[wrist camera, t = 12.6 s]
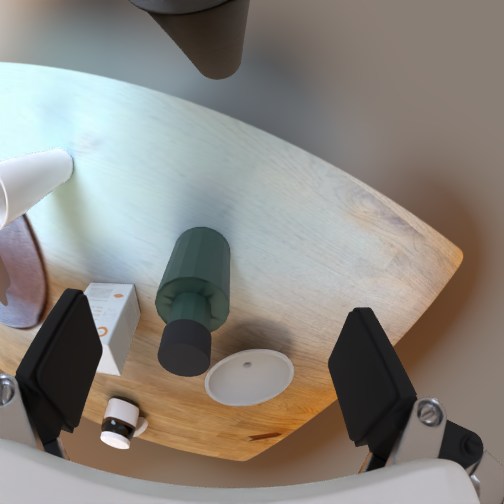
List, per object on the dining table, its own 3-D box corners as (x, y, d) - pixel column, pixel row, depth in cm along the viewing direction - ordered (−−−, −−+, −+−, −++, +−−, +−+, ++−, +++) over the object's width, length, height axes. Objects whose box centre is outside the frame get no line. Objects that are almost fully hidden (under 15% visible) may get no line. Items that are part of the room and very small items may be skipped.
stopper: (162, 300, 27) (146, 351, 21) (199, 284, 26) (191, 337, 20) (185, 329, 29) (177, 381, 23) (221, 316, 28) (219, 369, 22)
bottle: (165, 241, 37) (130, 319, 23) (213, 217, 36) (201, 290, 22) (192, 282, 40) (176, 369, 26) (239, 263, 39) (242, 348, 25)
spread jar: (114, 389, 53) (103, 430, 43) (158, 408, 57) (152, 449, 46) (103, 406, 57) (93, 442, 47) (142, 423, 61) (136, 459, 50)
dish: (253, 393, 54) (255, 412, 50) (191, 372, 50) (189, 393, 46) (307, 344, 48) (313, 365, 44) (238, 315, 44) (239, 337, 39)
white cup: (77, 191, 33) (11, 237, 19) (42, 185, 32) (-26, 226, 18) (81, 143, 30) (7, 169, 16) (44, 140, 29) (-30, 165, 15)
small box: (99, 312, 42) (71, 368, 31) (90, 281, 39) (54, 336, 28) (142, 315, 43) (121, 377, 31) (135, 283, 40) (107, 344, 28)
